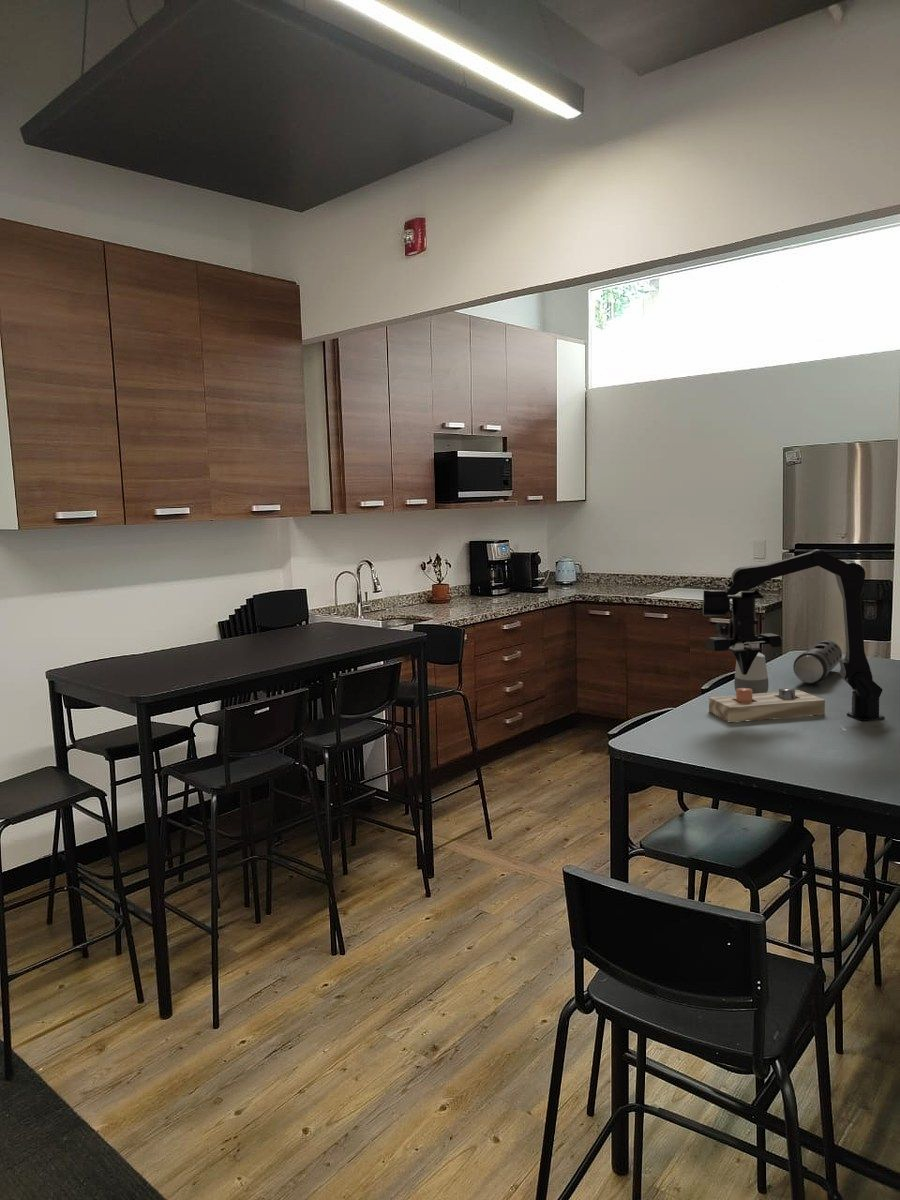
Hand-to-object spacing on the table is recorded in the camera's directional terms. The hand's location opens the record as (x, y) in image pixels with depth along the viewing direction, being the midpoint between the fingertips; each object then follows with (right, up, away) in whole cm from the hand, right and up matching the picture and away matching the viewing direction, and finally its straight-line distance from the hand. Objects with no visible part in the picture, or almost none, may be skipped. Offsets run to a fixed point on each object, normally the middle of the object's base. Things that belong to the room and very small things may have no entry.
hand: (744, 674), depth 213 cm
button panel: (+6, -11, +2) cm, 12 cm away
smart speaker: (+10, -8, +21) cm, 25 cm away
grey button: (+12, -10, +3) cm, 16 cm away
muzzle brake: (+38, -5, +40) cm, 55 cm away
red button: (0, -9, +1) cm, 10 cm away
